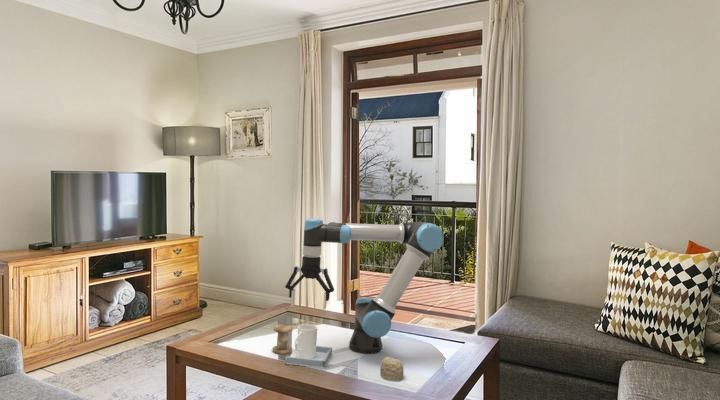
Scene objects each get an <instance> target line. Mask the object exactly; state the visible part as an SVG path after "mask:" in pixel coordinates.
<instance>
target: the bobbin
mask: <svg viewBox="0 0 720 400" xmlns="http://www.w3.org/2000/svg"><path fill="white" fill-rule="evenodd" d="M293 329H294V327H293V326H292V325H290V324H276V325H274V326H273V331H274V332H276V333H277V336H276V338H277V340H276V345H274V346H272V349H271V350H272V353H273V354H276V355H287V354H290V353H291V352H292V346H289V345H288V342H289V341H288V338H289V333H291V332H292V331H293Z"/></svg>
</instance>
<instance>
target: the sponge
mask: <svg viewBox="0 0 720 400" xmlns="http://www.w3.org/2000/svg"><path fill="white" fill-rule="evenodd" d="M404 371H405V370H404V364H403V363H402V361H400V360H399V359H398V358H394V357H389V356H386V357H384V358H383V359H382V361H381V364H380V369H379V372H380V377H381V378H382V379H384V380H385V381H388V382H399V381H402V379H404Z"/></svg>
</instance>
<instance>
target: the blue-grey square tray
mask: <svg viewBox="0 0 720 400" xmlns="http://www.w3.org/2000/svg"><path fill="white" fill-rule="evenodd" d="M296 346H297V344H296ZM296 351H297V350H296V349H295V348H294V350H293V352H292V353H291V354H289V355H290V356H287V355H286V356H284V359H285V360H284V364H285V363H287V364H295V365H300V366H299V367H301V366H306V367H305V368H313V369H320V370H325V368H326V366H327V364H328V363H329V361H330V359H331V358H332V355H333V347H329V346H322V345H321V346H320V345H316V357H315V358H313V359H306V358H298V357H296Z"/></svg>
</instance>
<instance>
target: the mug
mask: <svg viewBox="0 0 720 400" xmlns="http://www.w3.org/2000/svg"><path fill="white" fill-rule="evenodd" d="M317 336H318V326H317V325H314V324H308V323H307V324H300V325H299V326H297V335H296V337H295V340H294V350H295V349H296V350H297V351H296V357H298V358H306V359H313V358H315V357H316V346H317V339H318V337H317ZM296 344H297V346H296Z"/></svg>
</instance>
